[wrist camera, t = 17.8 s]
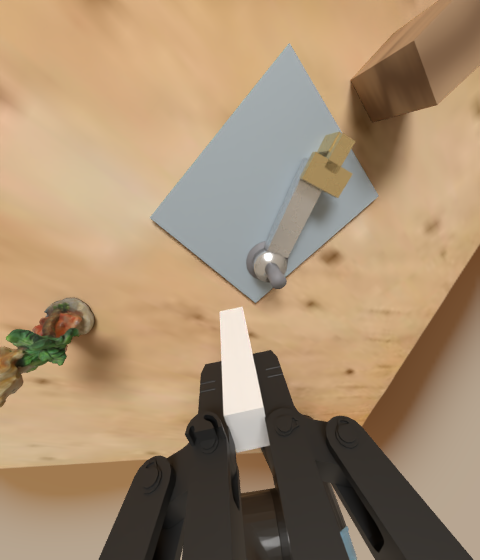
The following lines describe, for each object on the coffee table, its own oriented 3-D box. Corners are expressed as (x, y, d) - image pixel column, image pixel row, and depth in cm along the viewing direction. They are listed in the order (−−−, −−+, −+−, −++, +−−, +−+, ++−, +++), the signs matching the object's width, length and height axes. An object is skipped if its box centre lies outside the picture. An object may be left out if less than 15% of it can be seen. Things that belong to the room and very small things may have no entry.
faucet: (274, 279, 31) (278, 286, 29) (247, 271, 30) (249, 277, 28) (329, 171, 25) (338, 171, 23) (297, 155, 24) (304, 154, 22)
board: (374, 195, 28) (419, 203, 22) (254, 300, 34) (263, 329, 28) (286, 47, 20) (318, -5, 14) (151, 216, 26) (132, 231, 20)
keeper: (344, 150, 25) (368, 147, 21) (320, 193, 27) (338, 198, 23) (311, 129, 24) (331, 122, 20) (288, 176, 26) (302, 178, 22)
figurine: (69, 338, 34) (-24, 449, 20) (28, 302, 30) (-117, 410, 17) (119, 318, 33) (55, 419, 20) (83, 278, 29) (-24, 371, 16)
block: (412, 82, 23) (501, 45, 16) (372, 122, 24) (437, 104, 17) (393, 33, 21) (485, -35, 14) (350, 80, 22) (414, 40, 15)
